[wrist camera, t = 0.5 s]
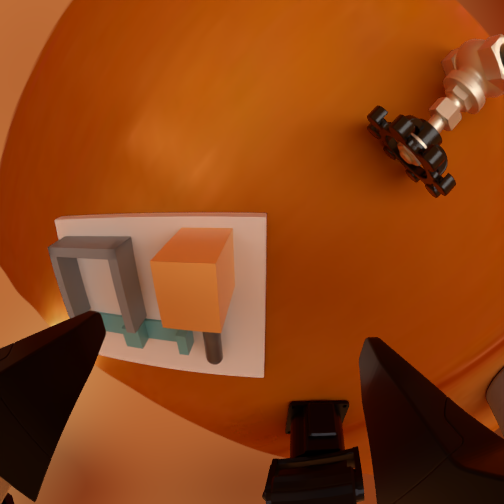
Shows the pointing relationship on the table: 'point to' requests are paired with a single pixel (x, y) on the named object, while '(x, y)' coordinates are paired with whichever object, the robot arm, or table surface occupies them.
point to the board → (145, 248)
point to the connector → (196, 283)
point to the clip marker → (163, 335)
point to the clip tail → (116, 326)
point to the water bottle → (497, 398)
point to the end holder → (121, 270)
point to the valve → (443, 112)
